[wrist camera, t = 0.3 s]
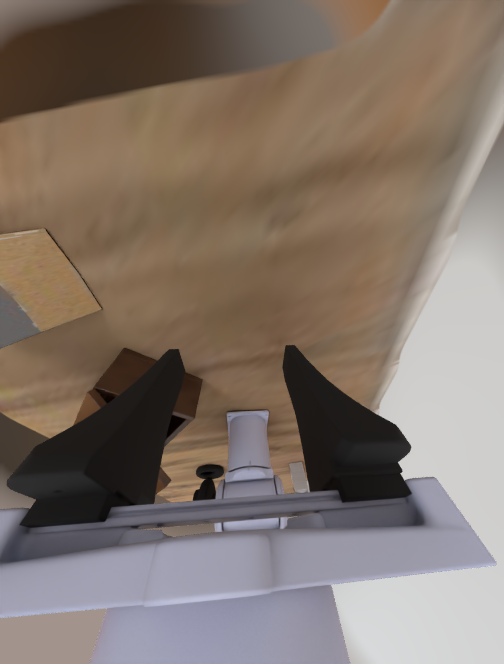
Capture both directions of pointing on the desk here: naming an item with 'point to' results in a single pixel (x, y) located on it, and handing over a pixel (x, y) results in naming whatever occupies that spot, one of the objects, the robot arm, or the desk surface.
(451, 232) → the desk surface
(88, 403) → the lid
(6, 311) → the sandwich container
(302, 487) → the grey printed box
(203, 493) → the webcam
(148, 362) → the walnut box
